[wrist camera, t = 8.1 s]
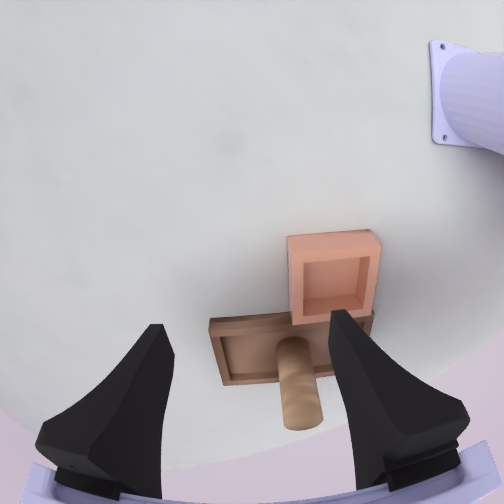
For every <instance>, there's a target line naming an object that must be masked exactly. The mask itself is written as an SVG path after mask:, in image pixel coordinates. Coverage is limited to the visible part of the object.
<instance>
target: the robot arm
mask: <svg viewBox="0 0 504 504" xmlns="http://www.w3.org/2000/svg"><path fill="white" fill-rule="evenodd" d="M440 44H441V45H442V47H443V50H442V49H441V48H440ZM430 55H431V69H432V92H433V127H432V139H433V141H434V142H435V143H438V144H447V145H458V146H468V147H477V148H485V149H490V150H492V151H495V152H497V153H499V154H502V155H504V53H480V52H477V51H475V50H472V49H468V48H465V47H462V46H459V45H455V44H452V43H448V42H445V41H441V40H437V39H433V40H431V41H430ZM443 135H445V138H444V140H443V139H442V137H443ZM328 347H329V353H330V358H331V363H332V367H333V370H334V373H335V376H336V379H337V382H338V386H339V389H340V392H341V395H342V398H343V401H344V405H345V408H346V412H347V418H348V423H349V429H350V434H351V442H352V448H353V456H354V465H355V477H356V491H353V492H348V493H343V494H338V495H332V496H326V497H321V498H314V499H306V500H298V501H289V502H278V503H261V504H473V503H475V502H476V501H478V500H480V499H482V498H484V497H485V496H487V495H489V494H490V493H492V492H493V491H495V490H497V489H498V488H500V487H501V486H502V481H501V478H500V476H499V473H498V470H497V468H496V465H495V462H494V460H493V457H492V454H491V452H490V450H489V447H488V445H487V442H486V441H485V440H483V441H481V442H479V443H477V444H475V445H473V446H471V447H469V448H467V449H465V450H463V451H461V452H460V453H458V452H457V449H456V448H457V447H458V446H459V444H458V442H457V437H458V436H459V435H460V434H461V433H462V432H463V431H464V430H465V429H466V427H467V426H468V425H469V422H470V417H469V415H468V413H467V411H466V409H465V407H464V405H463V403H462V402H461V400H459V399H456V398H454V397H452V396H449V395H447V394H445V393H442V392H440V391H439V390H437V389H435V388H433V387H431V386H429V385H428V384H426V383H424V382H423V381H421V380H420V379H418V378H417V377H415V376H413V375H412V374H410V373H409V372H408V371H406V370H405V369H404V368H402V367H401V366H400V365H399V364H397V363H396V362H395V361H394V360H393V359H392V358H390V357H389V356H388V355H387V354H386V353H385V352H384V351H383V350H382V349H381V348H380V347H379V346H378V345H377V344H376V343H375V342H374V341H373V340H372V339H371V338H370V337H369V336H368V335H367V334H366V333H365V331H364V330H363V329H362V328H361V327H360V326H359V325H358V323H357V322H356V321H355V320H354V319H353V318H352V316H351V315H350V314H349V313H348V311H347V310H346V309H340V310H333V311H331V317H330V327H329V337H328ZM174 358H175V354H174V352H173V349H172V347H171V344H170V342H169V339H168V336H167V334H166V331H165V328H164V326H163V324H150V325H149V326H148V328H147V329H146V330H145V331H144V333H143V334H142V335H141V336H140V338H139V339H138V340H137V342H136V343H135V344H134V345H133V347H132V348H131V349H130V350H129V352H128V353H127V354H126V355H125V357H124V358H123V359H122V360H121V361H120V363H119V364H118V365H117V366H116V367H115V368H114V369H113V371H112V372H111V373H110V374H109V375H108V376H107V377H106V378H105V379H104V380H103V381H102V382H101V383H100V384H99V385H98V386H97V387H95V388H94V389H93V390H92V391H91V392H89V393H88V394H87V395H86V396H85V397H83V398H82V399H81V400H80V401H78V402H77V403H75V404H74V405H73V406H71V407H70V408H68V409H66V410H65V411H63V412H62V413H60V414H58V415H56V416H55V417H53V418H51V419H49V420H47V421H45V422H43V425H42V427H41V430H40V432H39V435H38V438H37V440H36V443H35V447H36V449H37V450H38V451H39V452H40V453H41V454H42V455H43V456H45V457H46V458H47V459H49V460H50V461H51V462H53V463H54V464H55V465H56V466H58V468H57V471H55V470H53V469H50V468H48V467H45V466H42V465H40V464H37V463H35V462H33V463H32V465H31V468H30V471H29V474H28V478H27V481H26V484H25V488H24V492H23V495H22V499H21V503H20V504H207V503H191V502H180V501H171V500H162V490H161V441H162V428H163V420H164V414H165V409H166V405H167V400H168V396H169V391H170V387H171V382H172V377H173V370H174Z"/></svg>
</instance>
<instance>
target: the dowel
mask: <svg viewBox="0 0 504 504" xmlns="http://www.w3.org/2000/svg"><path fill="white" fill-rule="evenodd" d="M276 353H277V362H278V372H279V382H280V391H281V401H282V411H283V422H284V426H285V427H286V428H287V429H290V430H296V431H299V430H307V429H311V428H314V427H316V426H318V425H319V424H320V423H321V422H322V421H323V414H322V409H321V404H320V399H319V393H318V388H317V383H316V379H315V374H314V369H313V364H312V359H311V354H310V350H309V345H308V342H307V341H306V340H305V339H304V338H302V337H297V336H293V337H288V338H285V339H283V340H281V341H280V342H279V343H278V344H277V347H276Z"/></svg>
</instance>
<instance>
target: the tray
mask: <svg viewBox="0 0 504 504" xmlns="http://www.w3.org/2000/svg"><path fill="white" fill-rule="evenodd" d="M373 317H374V312H373V310H372V311H371V315H369V316H362V317H355V318H353V319H354V320H355V321H356V322H357V323H358V325H359V326H360V327H361V328H362V329H363V330H364V331H365V333H366V334H367V335H368V336H370V331H371V327H372V322H373ZM329 327H330V321H325V322H317V323H309V324H300V325H293V324H292V319H291V313H290V312H285V313H274V314H263V315H251V316H238V317H224V318H210V322H209V330H208V331H209V335H210V338H211V342H212V346H213V350H214V353H215V357H216V361H217V364H218V368H219V371H220V375H221V379H222V382H223V385H224V386H229V385H248V384H262V383H274V382H279V372H278V362H277V353H276V347H277V344H278V343H279V342H280V341H281V340H283V339H285V338H288V337H293V336H297V337H302V338H304V339H305V340H306V341H307V342H308V345H309V350H310V354H311V359H312V364H313V369H314V374H315V378H319V377H326V376H333V375H335V373H334V370H333V367H332V363H331V358H330V353H329V347H328V337H329Z"/></svg>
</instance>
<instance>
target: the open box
mask: <svg viewBox="0 0 504 504" xmlns="http://www.w3.org/2000/svg"><path fill="white" fill-rule="evenodd" d="M381 248H382V245H381V243H380V242H379V241H378V239H377V238H376V237H375V236H374V234H373V233H372V232H371V230H370V229H367V230H354V231H342V232H330V233H318V234H307V235H295V236H287V258H288V286H289V307H290V313H291V319H292V324H293V325H300V324H309V323H317V322H325V321H330V317H331V311H333V310H340V309H346V310H347V311H348V313H349V314H350V315H351V316H352V318H355V317H362V316H369V315H371V311H372V306H373V300H374V295H375V289H376V283H377V276H378V270H379V263H380V256H381Z"/></svg>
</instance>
